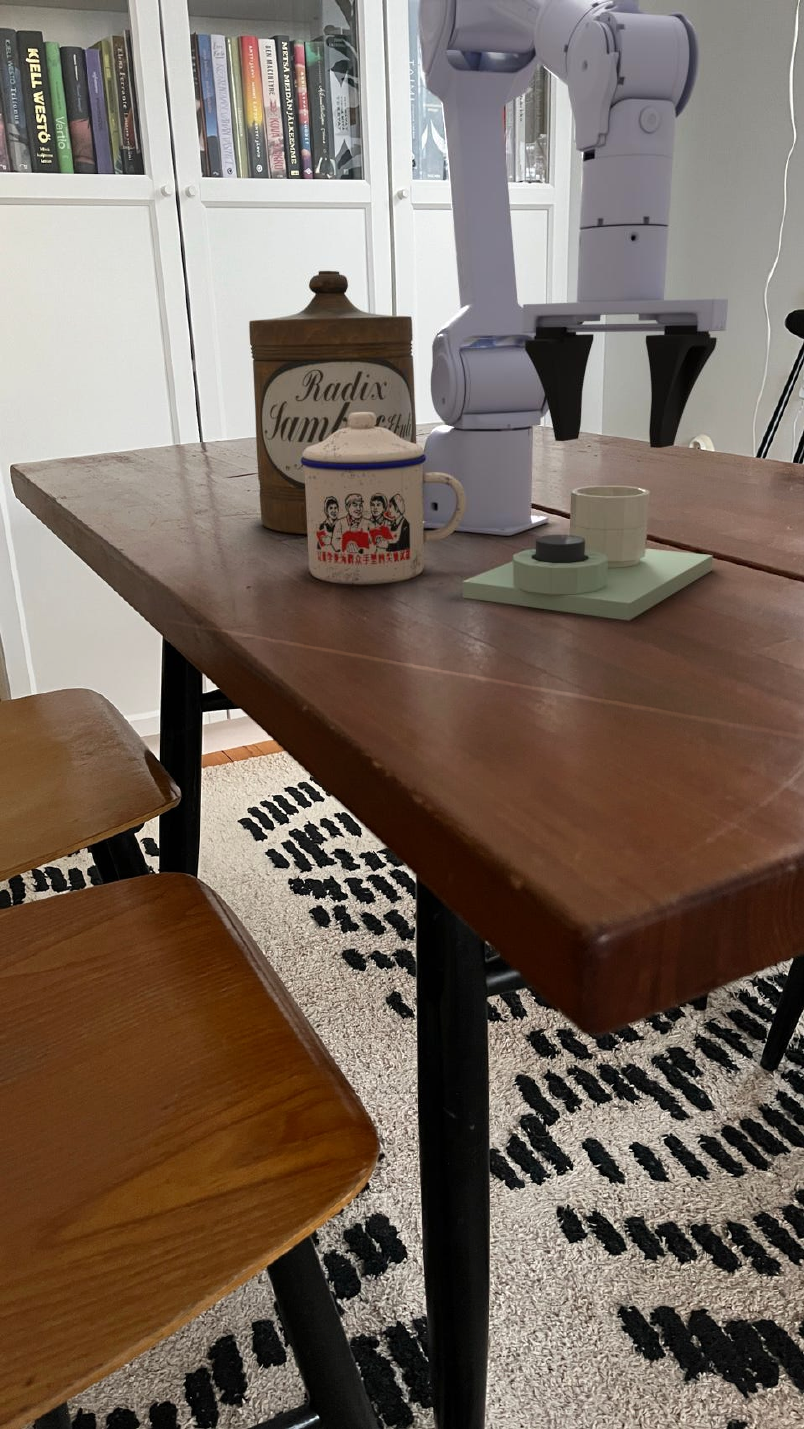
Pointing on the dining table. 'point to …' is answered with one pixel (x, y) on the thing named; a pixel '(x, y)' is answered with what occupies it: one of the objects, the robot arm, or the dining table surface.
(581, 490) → the cup
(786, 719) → the dining table surface
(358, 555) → the teacup with lid
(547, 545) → the button
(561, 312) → the robot arm
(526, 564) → the scale
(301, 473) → the wooden container
